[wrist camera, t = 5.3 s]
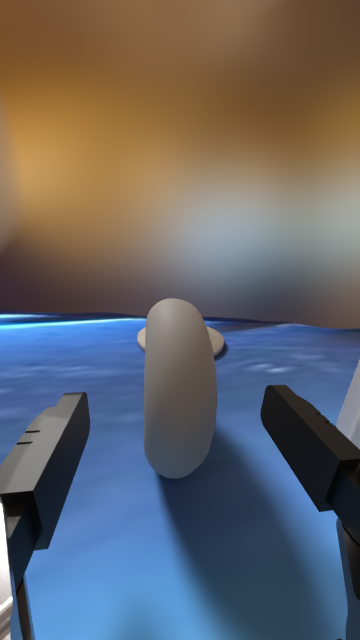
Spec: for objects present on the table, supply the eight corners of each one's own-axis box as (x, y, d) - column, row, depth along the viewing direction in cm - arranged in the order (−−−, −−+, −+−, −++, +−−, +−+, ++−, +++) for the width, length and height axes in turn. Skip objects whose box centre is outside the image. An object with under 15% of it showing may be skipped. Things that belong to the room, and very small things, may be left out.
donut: (215, 525, 9) (246, 332, 6) (142, 538, 9) (139, 332, 6) (181, 391, 19) (188, 286, 16) (145, 393, 18) (144, 285, 15)
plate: (209, 326, 37) (210, 320, 37) (237, 361, 25) (238, 352, 25) (140, 326, 36) (140, 320, 35) (133, 363, 23) (133, 353, 23)
